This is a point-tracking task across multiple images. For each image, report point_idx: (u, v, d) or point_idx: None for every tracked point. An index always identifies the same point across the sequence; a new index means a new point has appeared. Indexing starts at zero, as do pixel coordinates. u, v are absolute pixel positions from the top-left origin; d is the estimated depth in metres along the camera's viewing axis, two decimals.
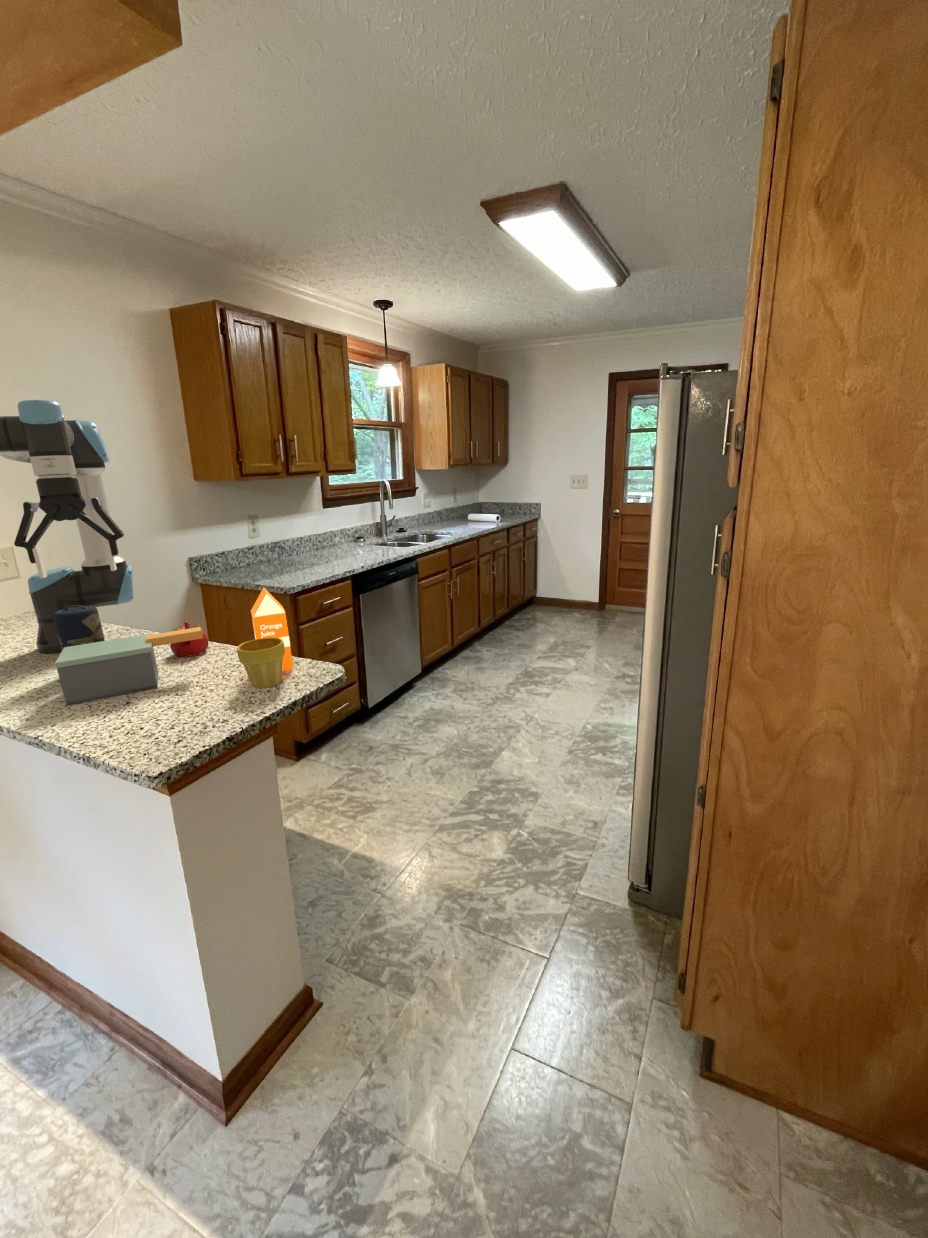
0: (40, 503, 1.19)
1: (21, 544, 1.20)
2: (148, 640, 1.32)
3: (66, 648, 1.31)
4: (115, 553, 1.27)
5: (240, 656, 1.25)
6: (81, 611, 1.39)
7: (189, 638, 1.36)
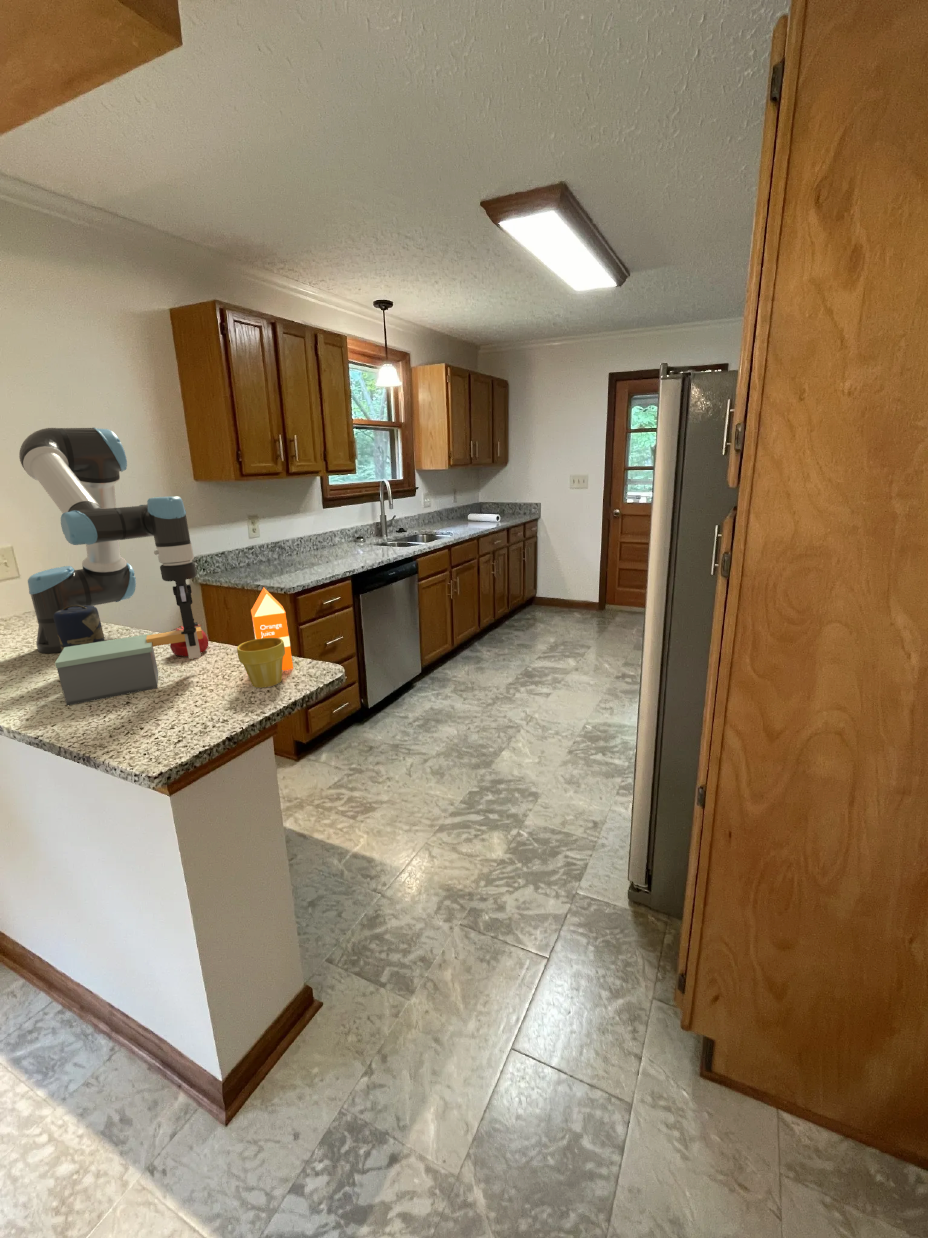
0: None
1: None
2: (148, 640, 1.32)
3: (66, 648, 1.31)
4: (189, 644, 1.35)
5: (240, 656, 1.25)
6: (81, 611, 1.39)
7: None
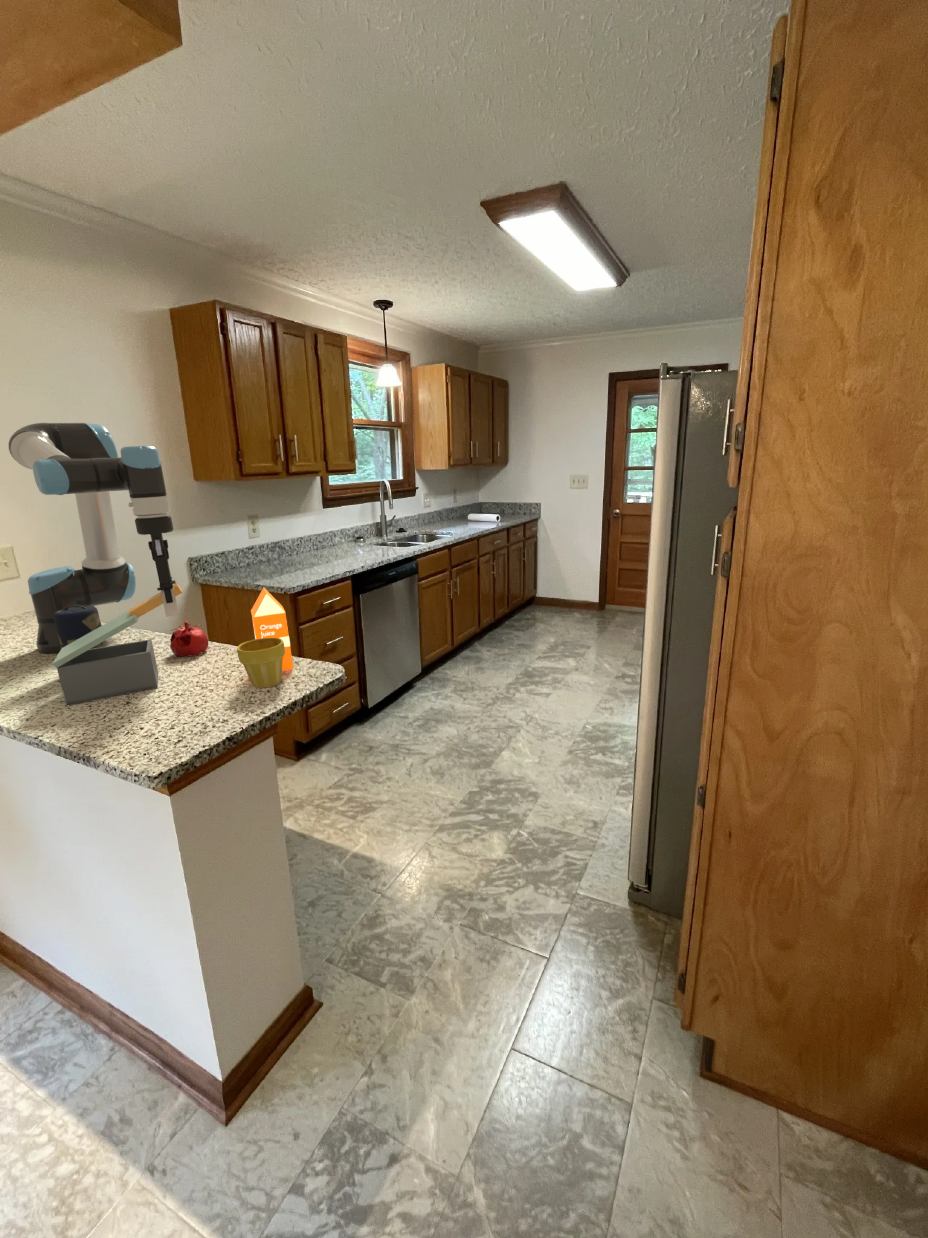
0: None
1: None
2: (131, 613, 1.29)
3: (63, 648, 1.30)
4: (166, 601, 1.31)
5: (240, 656, 1.25)
6: (81, 611, 1.39)
7: None
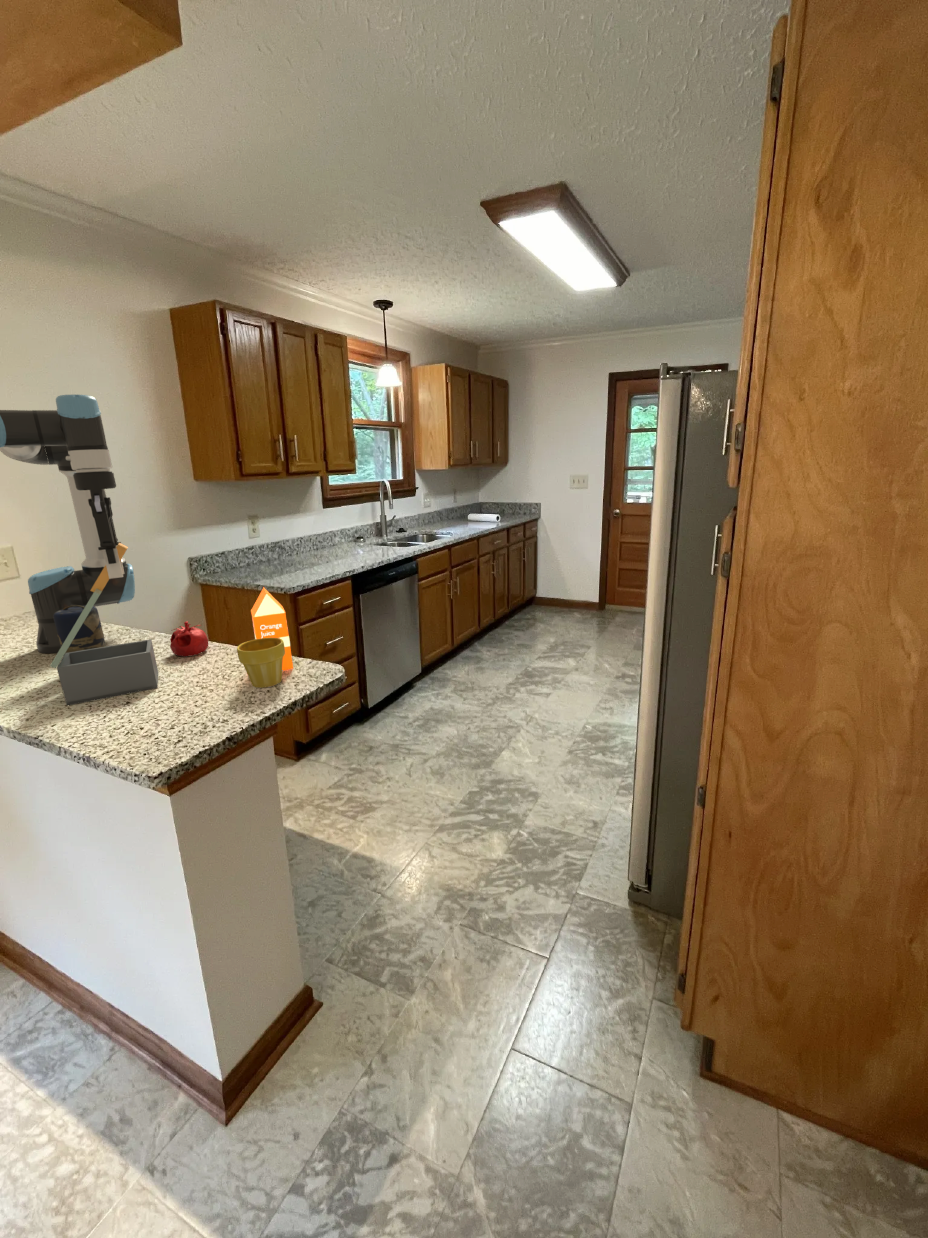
0: None
1: None
2: (92, 589, 1.25)
3: None
4: None
5: (240, 656, 1.25)
6: (81, 611, 1.39)
7: None
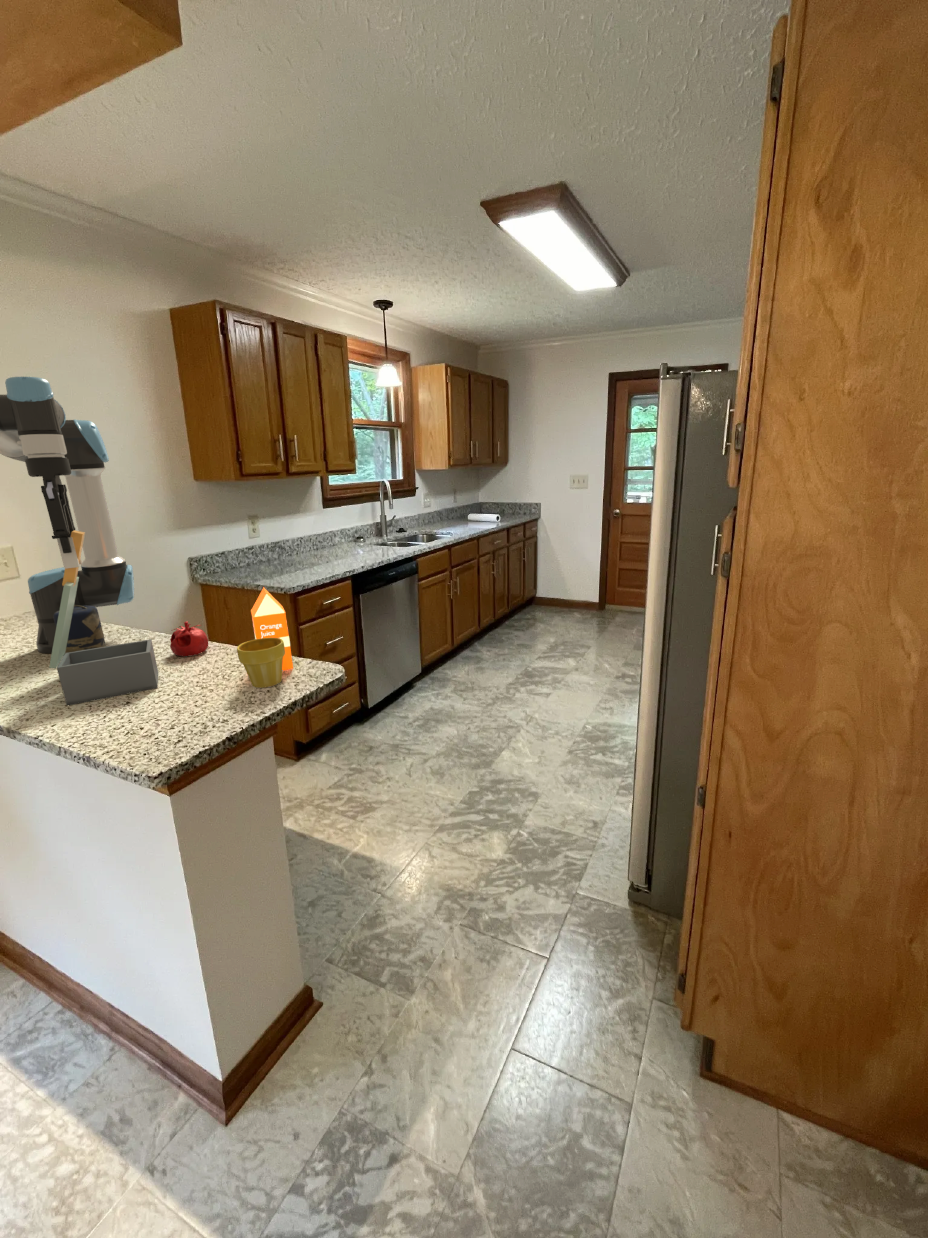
0: None
1: None
2: (64, 583, 1.22)
3: None
4: None
5: (240, 656, 1.25)
6: (81, 611, 1.39)
7: (77, 546, 1.22)
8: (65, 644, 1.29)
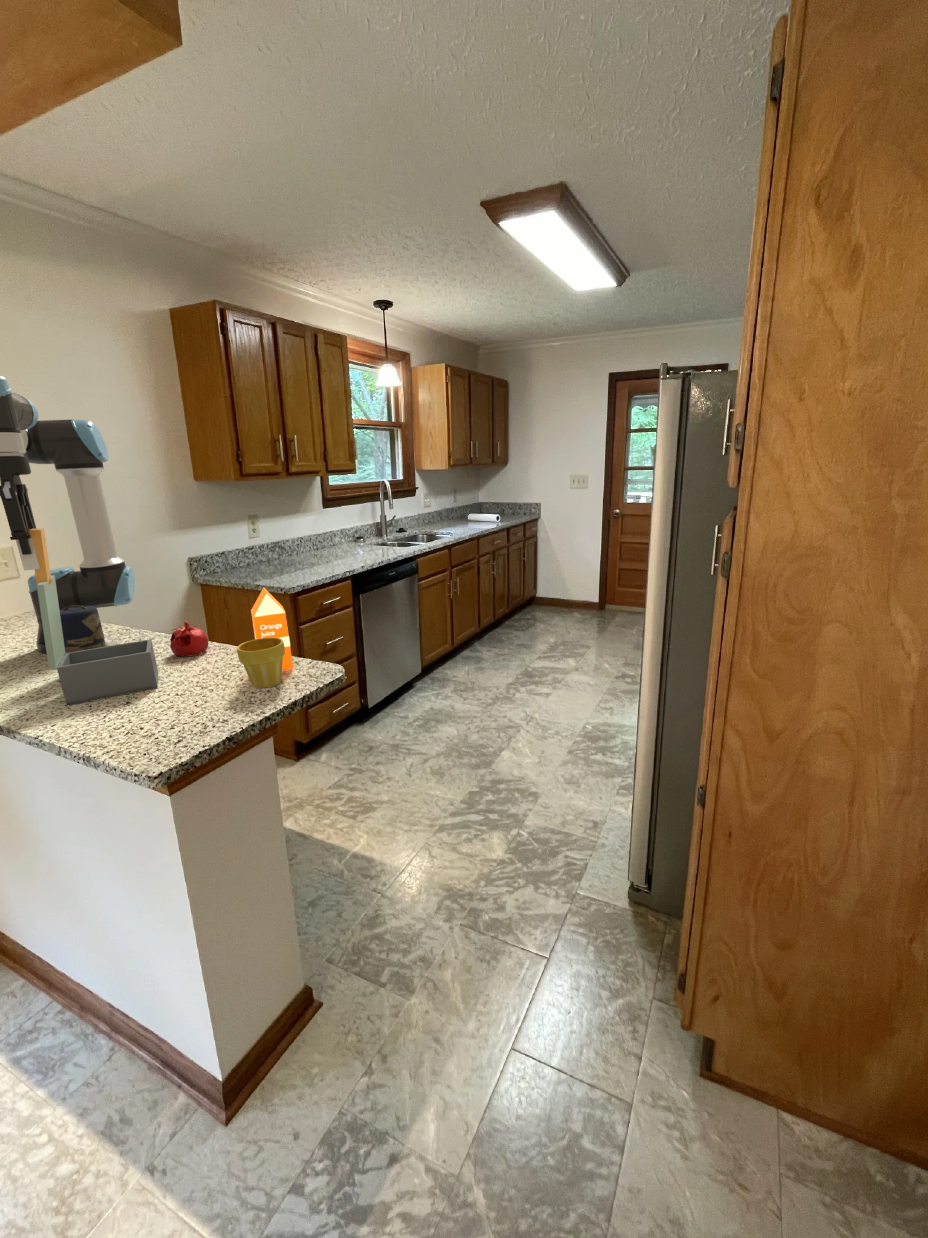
0: None
1: None
2: (38, 584, 1.20)
3: None
4: None
5: (240, 656, 1.25)
6: (81, 611, 1.39)
7: (39, 543, 1.18)
8: (61, 644, 1.29)
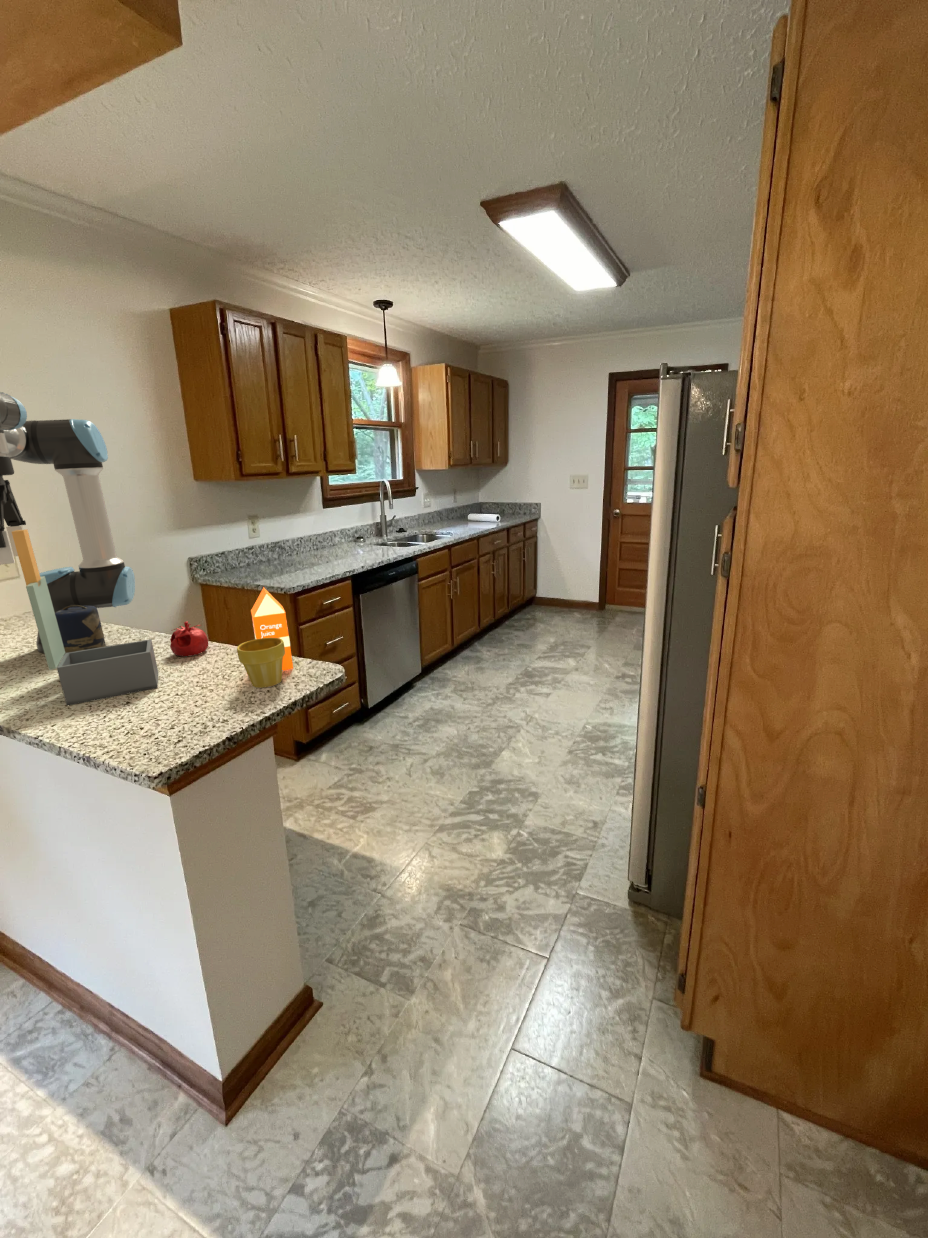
0: None
1: None
2: None
3: None
4: None
5: (240, 656, 1.25)
6: (81, 611, 1.39)
7: (24, 545, 1.17)
8: (60, 644, 1.29)
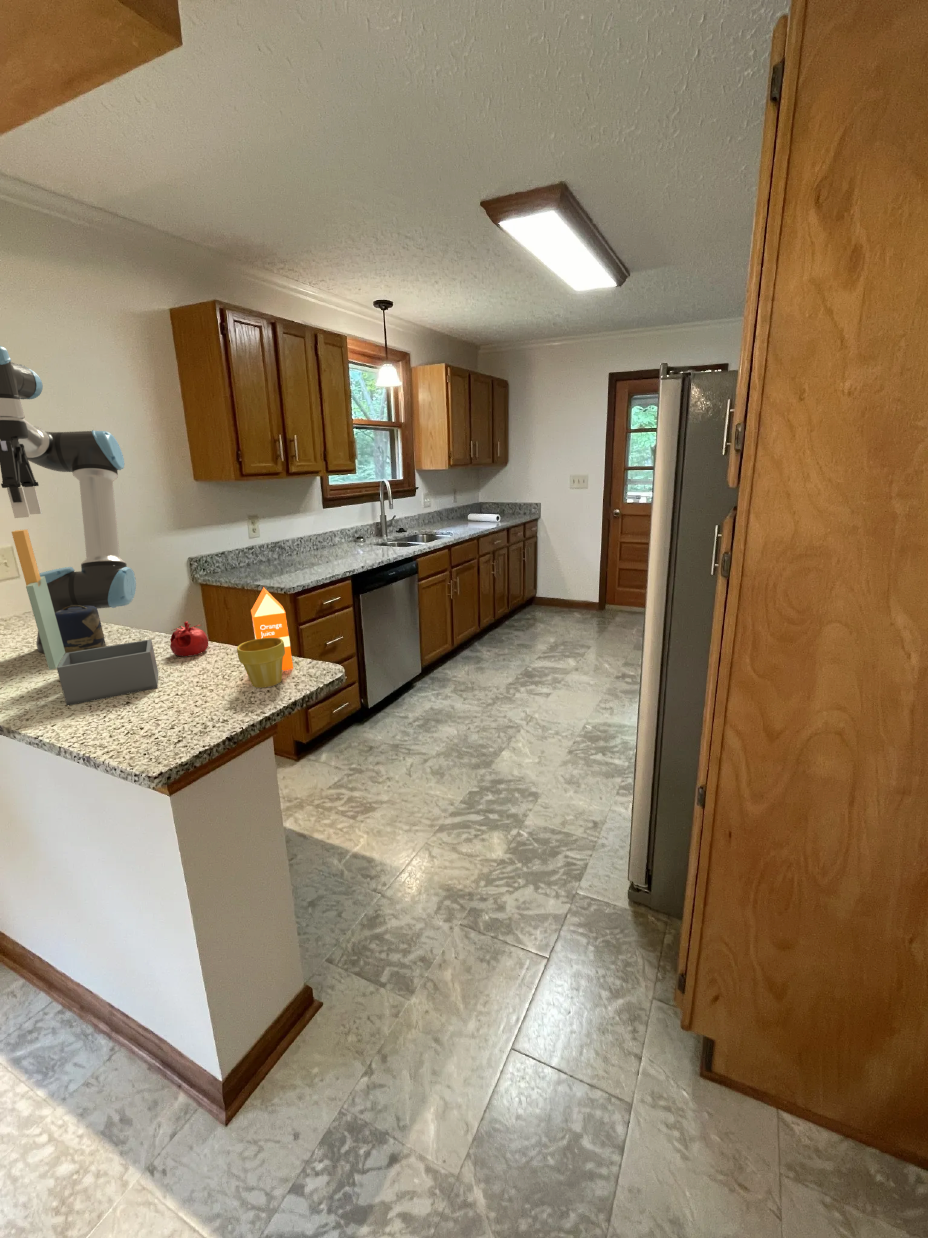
0: None
1: None
2: None
3: None
4: None
5: (240, 656, 1.25)
6: (81, 611, 1.39)
7: (24, 545, 1.17)
8: (60, 644, 1.29)
